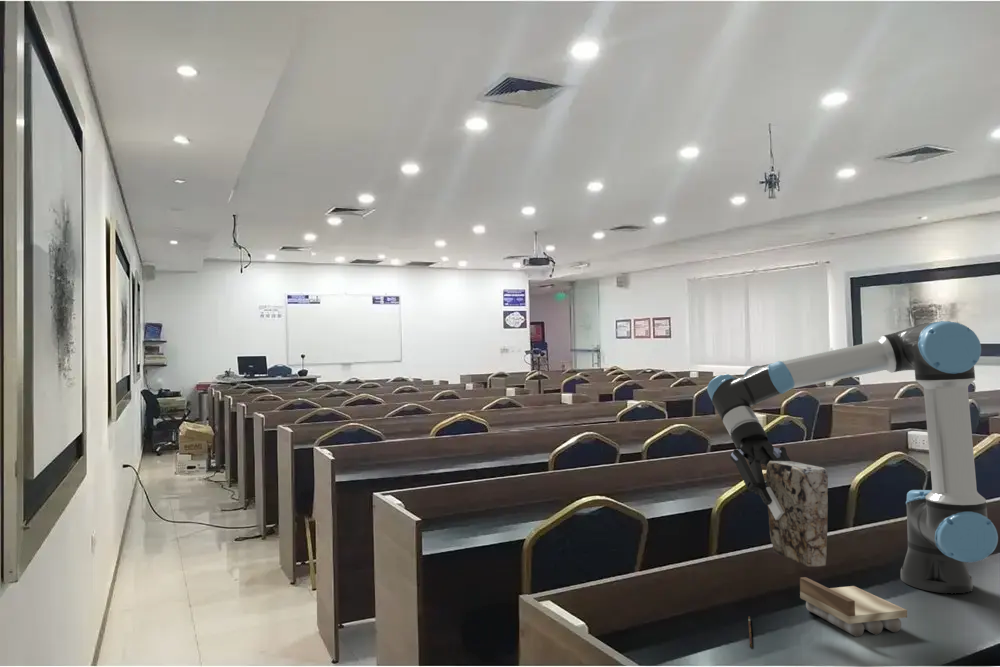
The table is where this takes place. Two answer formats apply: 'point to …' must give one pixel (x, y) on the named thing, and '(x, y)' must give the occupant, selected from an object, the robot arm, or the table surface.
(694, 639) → the table surface
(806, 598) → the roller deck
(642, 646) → the table surface
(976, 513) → the robot arm
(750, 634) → the dark brown thin bar
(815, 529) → the stone block
